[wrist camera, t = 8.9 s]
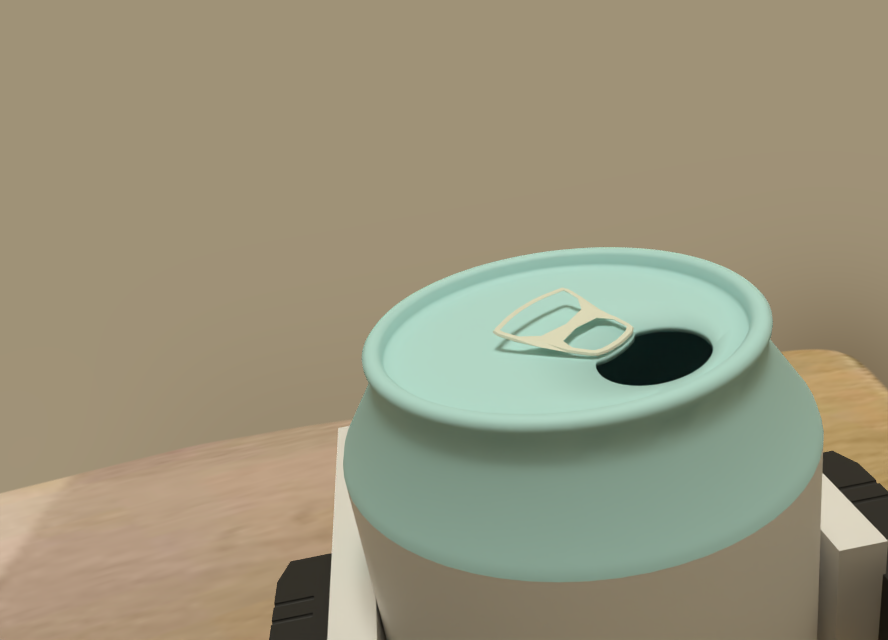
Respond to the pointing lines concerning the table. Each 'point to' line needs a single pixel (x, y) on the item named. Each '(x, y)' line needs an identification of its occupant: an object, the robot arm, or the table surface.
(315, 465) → the table surface
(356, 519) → the can
